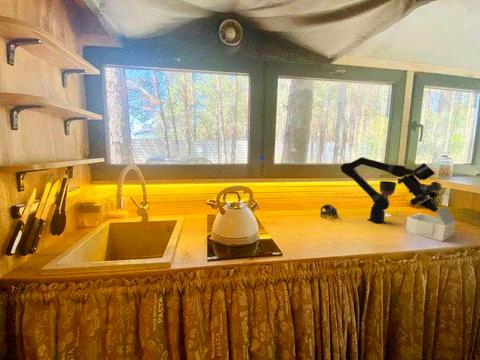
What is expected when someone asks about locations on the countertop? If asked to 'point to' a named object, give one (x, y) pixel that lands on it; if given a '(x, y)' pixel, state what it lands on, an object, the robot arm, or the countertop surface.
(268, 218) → the countertop surface
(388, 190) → the wineglass
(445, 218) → the far flap
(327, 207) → the dark glossy dome
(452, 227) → the carton
